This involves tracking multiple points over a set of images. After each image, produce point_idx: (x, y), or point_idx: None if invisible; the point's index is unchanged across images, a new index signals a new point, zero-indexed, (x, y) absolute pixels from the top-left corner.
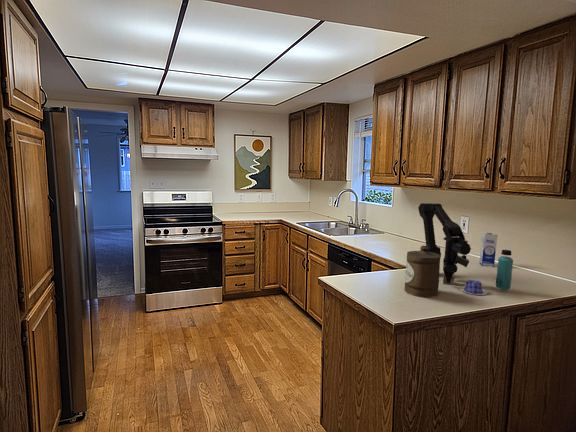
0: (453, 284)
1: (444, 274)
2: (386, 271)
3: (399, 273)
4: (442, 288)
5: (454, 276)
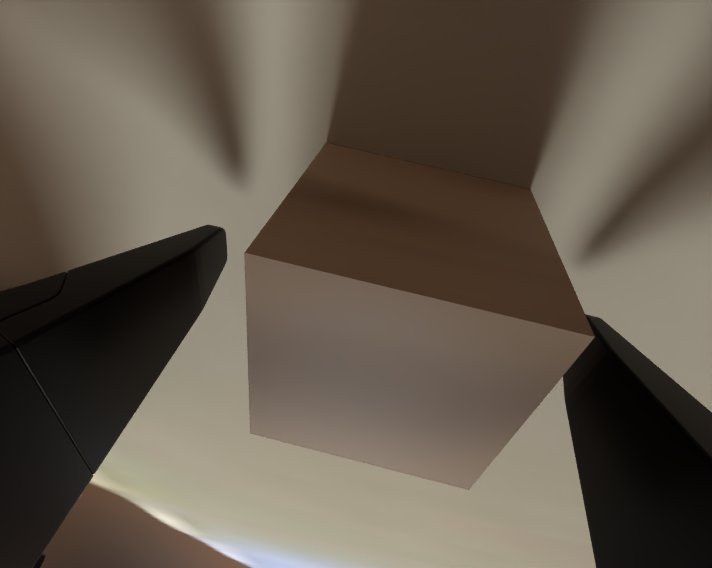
0: (528, 204)
1: (459, 479)
2: (225, 549)
3: (228, 518)
4: (703, 395)
5: (584, 324)
